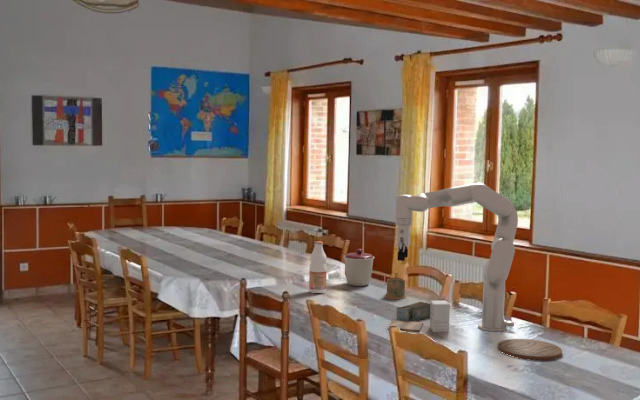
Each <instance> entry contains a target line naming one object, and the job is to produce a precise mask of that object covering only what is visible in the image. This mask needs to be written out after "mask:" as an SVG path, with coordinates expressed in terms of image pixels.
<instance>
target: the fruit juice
mask: <svg viewBox="0 0 640 400" xmlns="http://www.w3.org/2000/svg"><path fill="white" fill-rule="evenodd" d="M313 245H314V247H313V250H312V252H311V253H310V256H309V261H310V265H309V268H308V270H309V271H308V277H309V278H308V292H309V293H310V292H311V293H310V294H313V293H323V294H325V292H327V264H326V262H327V254H326V252H325V251H324V248H323V247H324V246H323V245H324V242H323V241H320V240H319V241H318V240H317V241H313Z"/></svg>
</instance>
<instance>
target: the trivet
mask: <svg viewBox="0 0 640 400" xmlns="http://www.w3.org/2000/svg"><path fill="white" fill-rule="evenodd" d="M497 350H498V351H499V350H500V351H501V352H503V353H505V354H508V355H511V356H514V357H513V358H515V357H518V358H517V359H520V358H522V359H521V360H527V359H530V360H529V361H551V360H550V359H553V360H556V359H555V358H557V359H559V358H561V357H562V356H563V355H562V354H563V349H562V348H561V347H559V346H558V345H557V344H553V343H551V342H547V341H542V340H538V339H532V338H531V339H529V338H509V339H503V340H501V341H499V342H498V343H497ZM500 351H499V352H500ZM501 352H500V353H501ZM503 353H502V354H503ZM505 354H504V355H505ZM508 355H507V356H508ZM511 356H510V357H511ZM560 356H561V357H560ZM558 357H559V358H558Z"/></svg>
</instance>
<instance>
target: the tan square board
mask: <svg viewBox="0 0 640 400" xmlns="http://www.w3.org/2000/svg"><path fill="white" fill-rule="evenodd" d="M423 325H424V322H421V321H412V322H411V321H400V320H397V319H392V320H391V321H390V323H389V325H388V326H387V328H388V327H389V326H397V327H399V328H400V330H403V331H402V332H411V333H420V332H421V329H422V328H423Z"/></svg>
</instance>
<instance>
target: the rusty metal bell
mask: <svg viewBox="0 0 640 400" xmlns="http://www.w3.org/2000/svg"><path fill="white" fill-rule="evenodd" d="M405 290H406V280H405V279H403V278H401V277H398V272H397V271H395V272H394V277H390V278H388V279H387V280H386V293H385V295H384V297H385V298H386V299H392V300H404V299H406V298H407V295H406V291H405Z"/></svg>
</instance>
